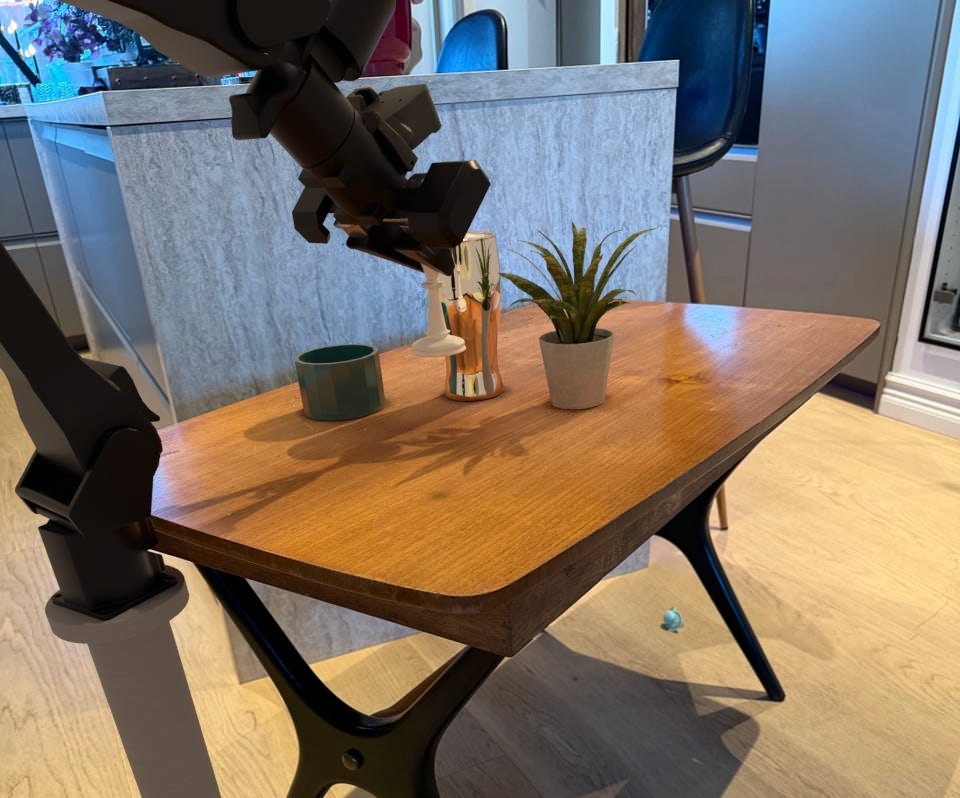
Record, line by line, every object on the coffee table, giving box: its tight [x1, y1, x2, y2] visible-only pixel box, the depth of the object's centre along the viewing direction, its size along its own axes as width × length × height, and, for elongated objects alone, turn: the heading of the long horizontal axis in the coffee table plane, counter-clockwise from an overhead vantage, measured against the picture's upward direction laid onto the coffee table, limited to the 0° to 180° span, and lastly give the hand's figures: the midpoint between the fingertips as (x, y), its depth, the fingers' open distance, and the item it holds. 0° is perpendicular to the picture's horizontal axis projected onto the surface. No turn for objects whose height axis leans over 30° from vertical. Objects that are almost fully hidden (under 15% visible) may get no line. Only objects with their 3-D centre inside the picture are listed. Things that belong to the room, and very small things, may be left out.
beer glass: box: [438, 230, 504, 402], centre depth 89 cm, size 7×7×15 cm
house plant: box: [498, 221, 658, 410], centre depth 84 cm, size 14×14×16 cm
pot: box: [293, 343, 386, 422], centre depth 90 cm, size 8×8×6 cm
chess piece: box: [411, 264, 466, 358], centre depth 78 cm, size 5×5×10 cm
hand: (442, 271), depth 78 cm, fingers closed on chess piece
